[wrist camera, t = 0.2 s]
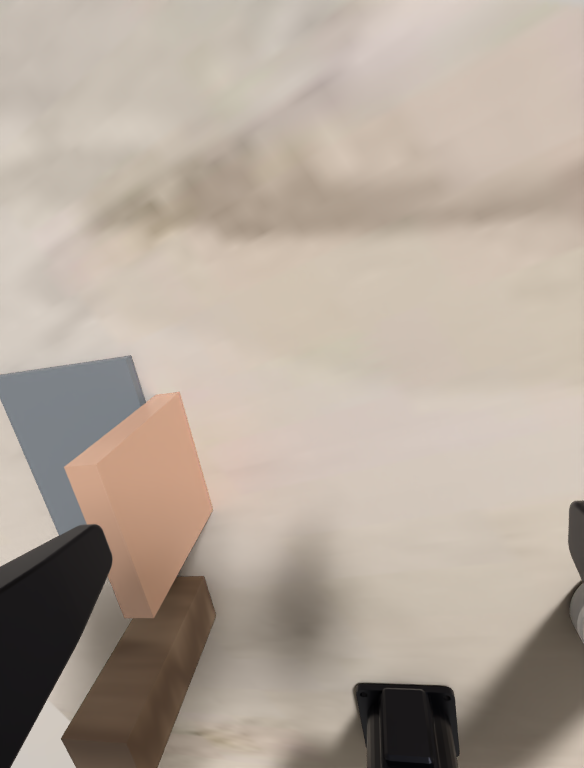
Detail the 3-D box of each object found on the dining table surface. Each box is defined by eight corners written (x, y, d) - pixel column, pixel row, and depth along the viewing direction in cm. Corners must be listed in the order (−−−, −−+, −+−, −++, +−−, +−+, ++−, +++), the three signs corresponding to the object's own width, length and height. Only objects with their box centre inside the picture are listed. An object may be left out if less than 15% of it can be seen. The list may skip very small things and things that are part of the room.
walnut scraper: (225, 644, 30) (163, 825, 21) (171, 643, 31) (90, 817, 22) (193, 543, 28) (107, 701, 18) (135, 545, 28) (25, 697, 19)
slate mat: (186, 531, 27) (182, 537, 27) (68, 536, 29) (62, 542, 29) (130, 355, 24) (125, 358, 23) (-1, 375, 25) (-9, 378, 25)
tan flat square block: (213, 509, 26) (153, 618, 19) (188, 510, 27) (120, 618, 19) (179, 391, 24) (96, 464, 16) (152, 395, 24) (59, 467, 17)
